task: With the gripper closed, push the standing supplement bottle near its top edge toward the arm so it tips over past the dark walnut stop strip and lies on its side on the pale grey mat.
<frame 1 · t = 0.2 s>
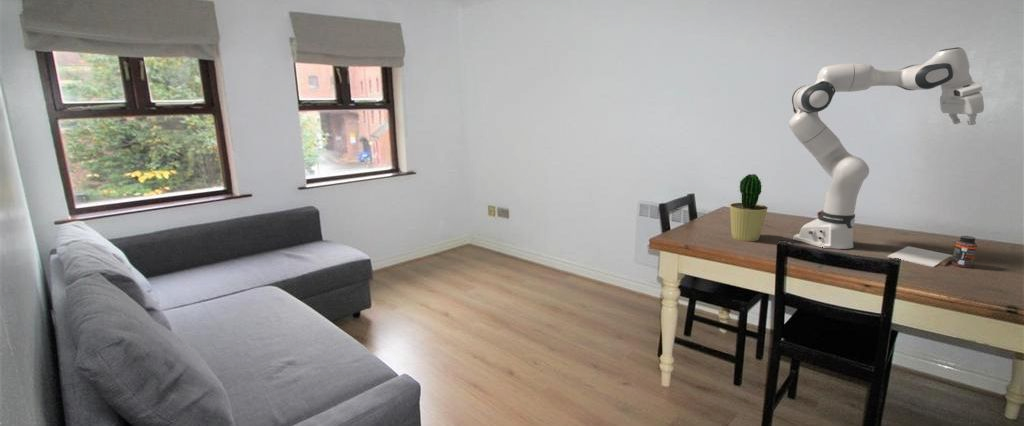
hand: (964, 124, 187), 52 cm above the table, tool tilted 20°, fingers open, 8 cm apart
supplement bottle: (961, 266, 183), on the table
stop strip: (947, 262, 186), on the table
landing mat: (919, 256, 193), on the table
potted cactus: (745, 238, 221), on the table
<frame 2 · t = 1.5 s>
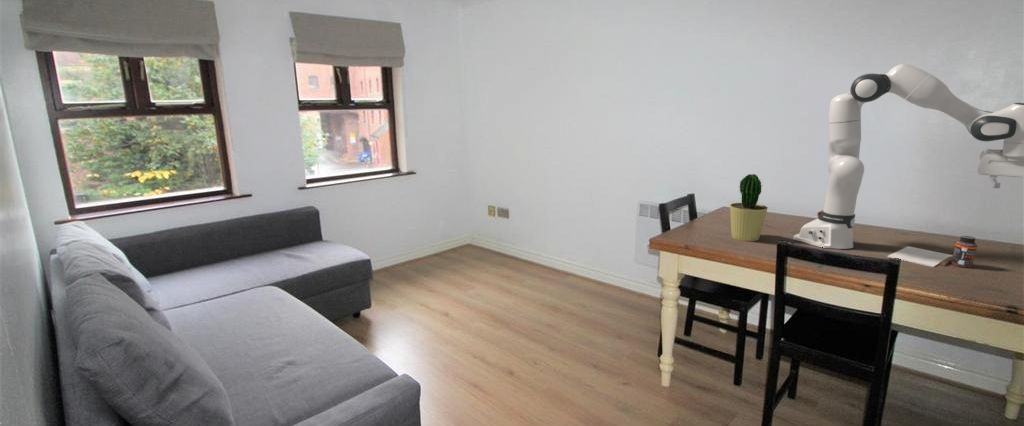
hand: (1014, 189, 171), 30 cm above the table, tool pointing down, fingers open, 8 cm apart
nothing on the table moved.
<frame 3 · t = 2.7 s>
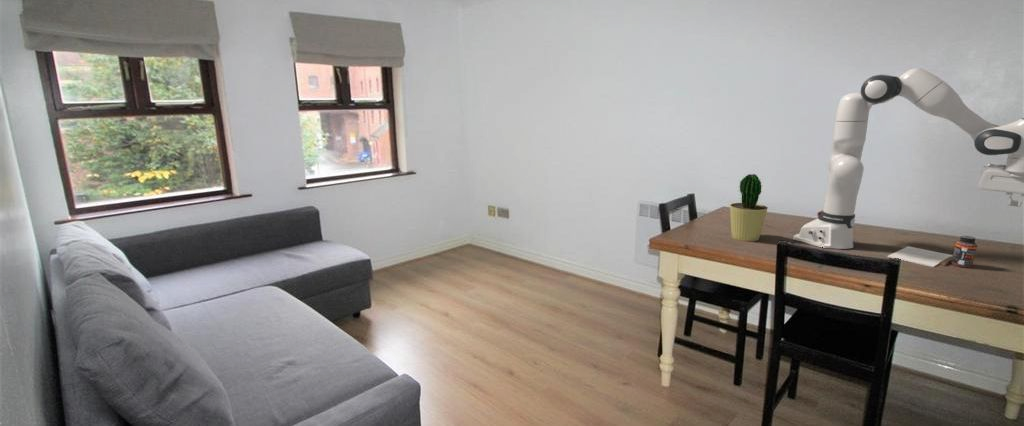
hand: (1014, 205, 169), 25 cm above the table, tool pointing down, fingers closed
nothing on the table moved.
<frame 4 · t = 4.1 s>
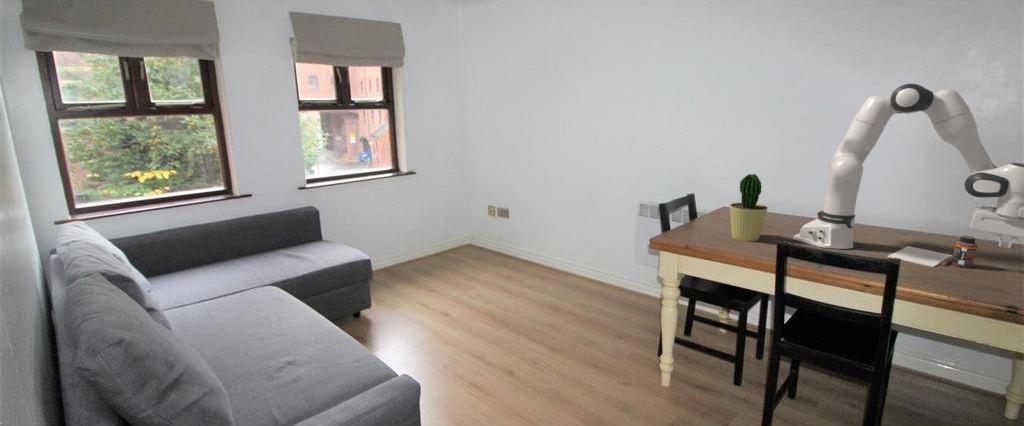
hand: (1004, 247, 172), 10 cm above the table, tool pointing down, fingers closed
nothing on the table moved.
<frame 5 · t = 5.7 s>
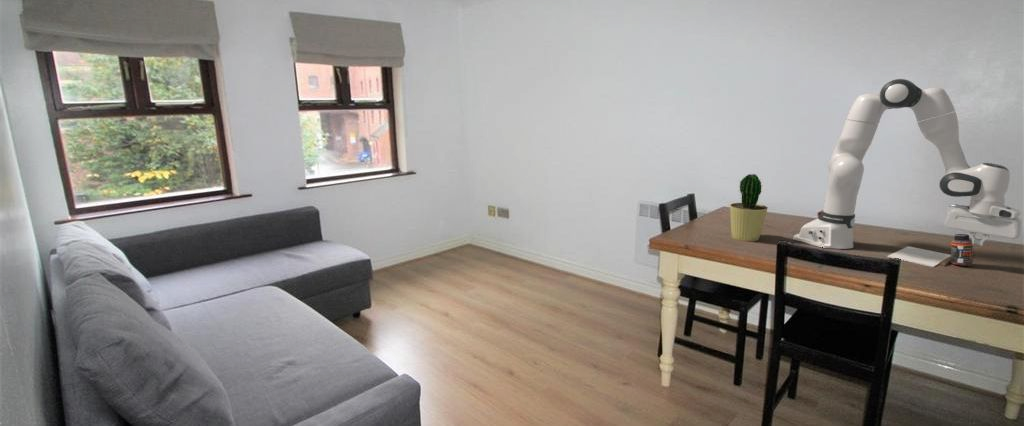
hand: (977, 244, 178), 9 cm above the table, tool pointing down, fingers closed
supplement bottle: (961, 264, 183), on the table, touching gripper
everything else where it was.
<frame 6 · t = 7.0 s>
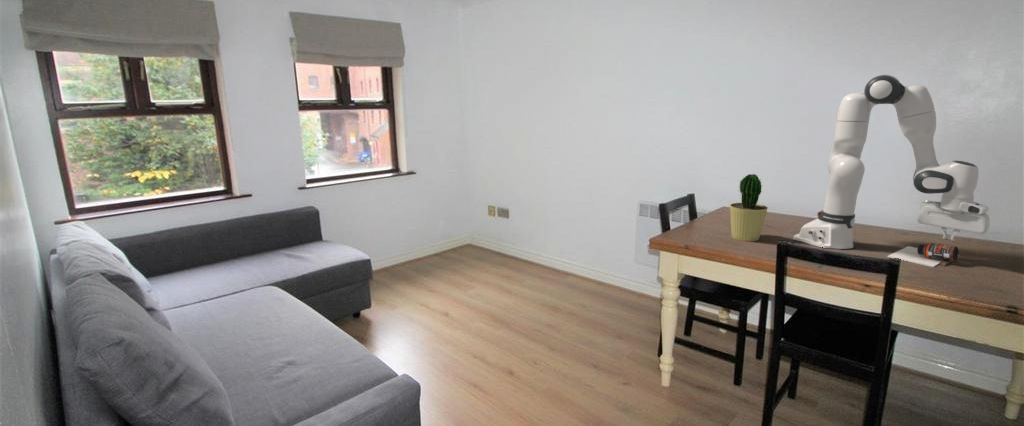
hand: (948, 239, 185), 9 cm above the table, tool pointing down, fingers closed
supplement bottle: (956, 253, 182), point 4 cm above the table, touching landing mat, stop strip
everything else where it was.
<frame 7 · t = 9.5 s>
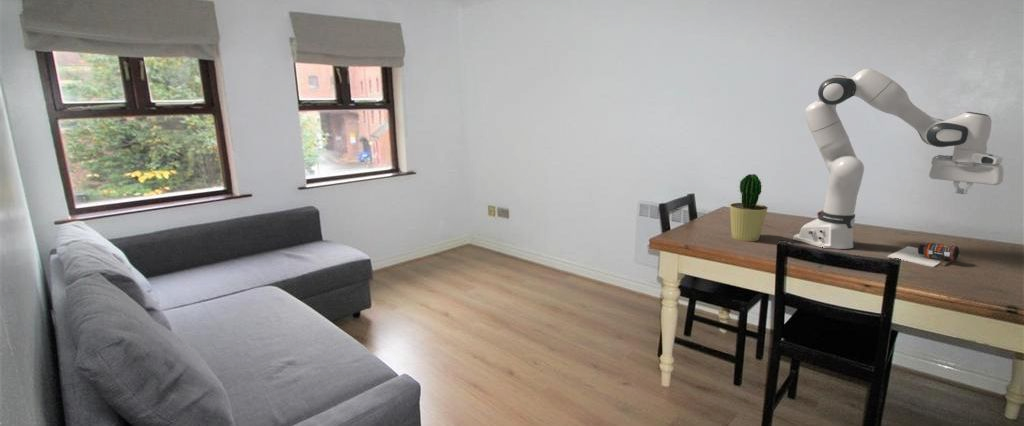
hand: (960, 193, 181), 27 cm above the table, tool pointing down, fingers closed
nothing on the table moved.
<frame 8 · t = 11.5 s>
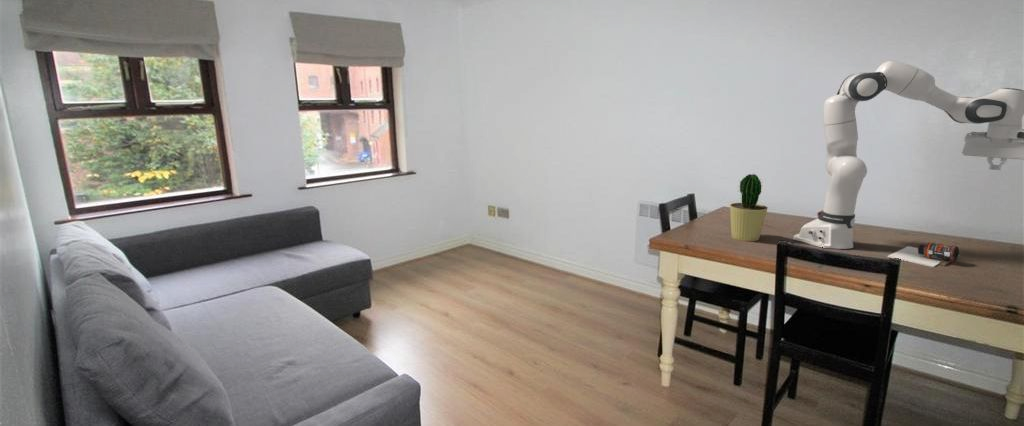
hand: (994, 169, 183), 35 cm above the table, tool pointing down, fingers closed
nothing on the table moved.
at the end: supplement bottle tilted 97°; supplement bottle inside the target area (4.2 cm from its centre), point 4.4 cm above the table; the gripper is holding nothing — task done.
